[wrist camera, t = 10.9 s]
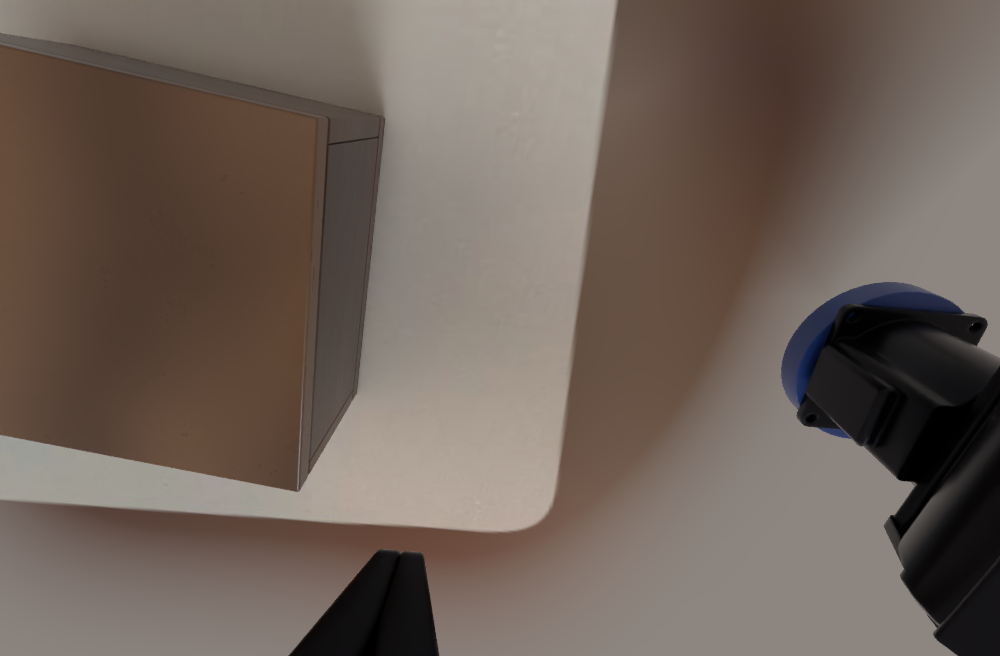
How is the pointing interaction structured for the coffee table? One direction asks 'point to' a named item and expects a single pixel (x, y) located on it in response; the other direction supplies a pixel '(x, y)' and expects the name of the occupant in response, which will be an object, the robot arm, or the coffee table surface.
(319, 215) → the lid
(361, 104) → the coffee table surface
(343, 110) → the chest
